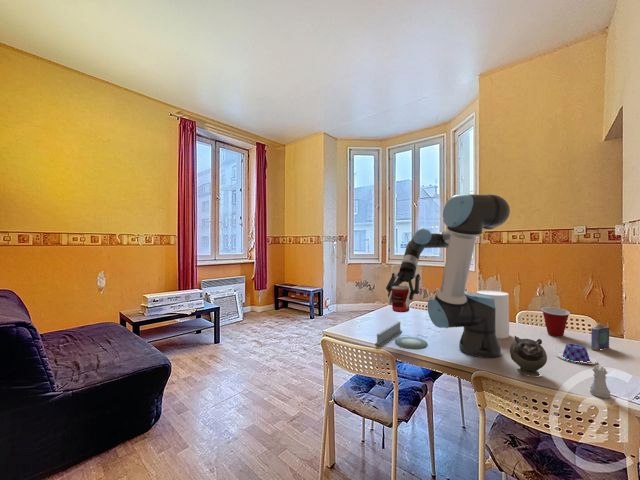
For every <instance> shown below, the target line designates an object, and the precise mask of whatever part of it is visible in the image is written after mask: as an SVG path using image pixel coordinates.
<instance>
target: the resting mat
mask: <svg viewBox="0 0 640 480" xmlns="http://www.w3.org/2000/svg"><path fill="white" fill-rule="evenodd" d="M394 343H395V345H397V346H399V347H401V348H405V349H411V350H422V349H424V348H427V347H428V342H427V341H426V340H424V339H422V338H419V337H414V336H402V337H400V336H399V337H397V338H395V339H394Z"/></svg>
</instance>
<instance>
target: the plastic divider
mask: <svg viewBox="0 0 640 480" xmlns="http://www.w3.org/2000/svg"><path fill="white" fill-rule="evenodd" d="M402 333H403V330H401V321H397V322H394V323H393V324H392V325H390V326H388V327H386V328H385V329H383V330H382V331H379V332H378V333H377V334H376V342H375V343H374V345H375V346H376V347H377V346H378V347H383V346H384V345H386V344H388V343H389V342H391V340H392V341H393V339H394V338H395V339H396V337H397V336H399V335H401V334H402Z"/></svg>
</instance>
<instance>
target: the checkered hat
mask: <svg viewBox="0 0 640 480" xmlns="http://www.w3.org/2000/svg"><path fill="white" fill-rule="evenodd" d="M558 353H563V355H562V356H563V357H565V358H564V359H563V358H561V357H559V356H558ZM555 355H556V357H558V358H560V359H562V360H564V361H568V360H567V359H569V360H573V361H571V363H573V362H574V361H579V362H580V361H583V362H587V361H590V359H589V357H591V356H589V353H588V350H587V348H586V347H585V346H583V345H580V344H578V343H577V344H576V343H566V344H565V346H564V349H563V351H557V352H556V353H555ZM591 358H593V359H594V360H595V361H596V363H595V364H594V365H596V364H598V360H596V358H594V357H591ZM565 359H566V360H565ZM568 362H569V361H568ZM590 362H591V361H590ZM574 363H575V364H577V363H576V362H574ZM581 364H582V363H581ZM582 365H583V364H582Z"/></svg>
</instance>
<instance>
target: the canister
mask: <svg viewBox="0 0 640 480" xmlns="http://www.w3.org/2000/svg"><path fill="white" fill-rule="evenodd" d="M475 292H476V293H475V294H478V295H484V296H488V297H491V298H493V299H494V301H495V308H496V309H495V328H496V329H495V330H496V337H497V339H508V338H509V337H510V296H509V295H510V294H509V293H508V292H505V291H501V290H500V291H498V290H483V289H482V290H478V291H475ZM507 337H508V338H507Z"/></svg>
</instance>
